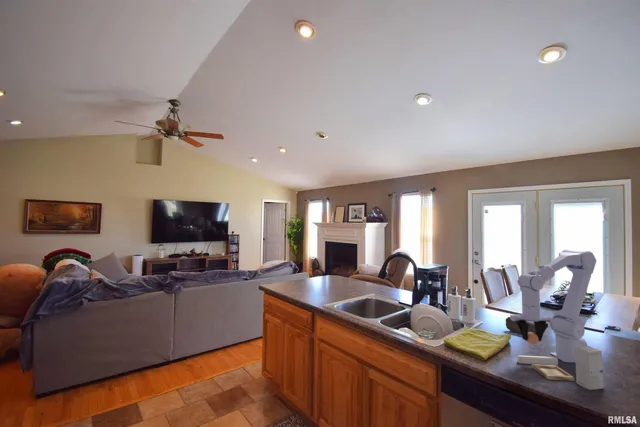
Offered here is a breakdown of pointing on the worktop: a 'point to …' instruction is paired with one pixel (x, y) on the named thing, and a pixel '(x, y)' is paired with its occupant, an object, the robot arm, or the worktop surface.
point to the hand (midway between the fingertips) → (531, 339)
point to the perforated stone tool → (514, 327)
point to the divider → (537, 360)
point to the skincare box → (589, 367)
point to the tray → (553, 372)
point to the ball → (532, 338)
